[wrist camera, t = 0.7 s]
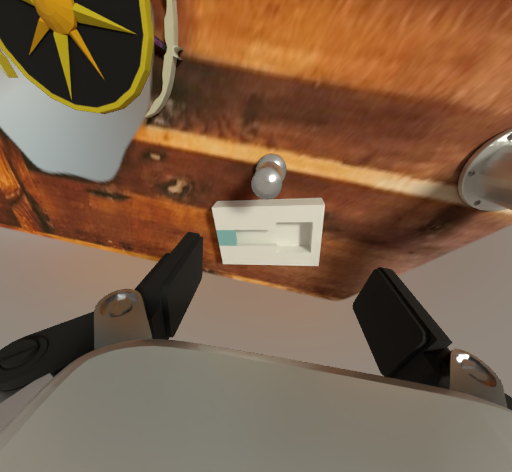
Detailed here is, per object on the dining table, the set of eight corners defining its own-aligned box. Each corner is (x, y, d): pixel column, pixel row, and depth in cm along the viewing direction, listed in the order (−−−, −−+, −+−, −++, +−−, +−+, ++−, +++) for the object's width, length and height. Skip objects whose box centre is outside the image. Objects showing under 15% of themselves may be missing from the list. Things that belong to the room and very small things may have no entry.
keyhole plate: (321, 197, 35) (324, 204, 32) (316, 255, 41) (318, 266, 38) (217, 201, 38) (211, 207, 35) (227, 254, 44) (222, 264, 41)
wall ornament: (-192, -278, 15) (174, -122, 18) (-86, -186, 20) (194, -72, 23) (-43, 75, 27) (166, 140, 30) (3, 82, 32) (180, 138, 34)
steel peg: (286, 152, 32) (286, 162, 23) (286, 183, 35) (286, 203, 26) (255, 154, 33) (244, 164, 24) (257, 184, 35) (248, 204, 26)
